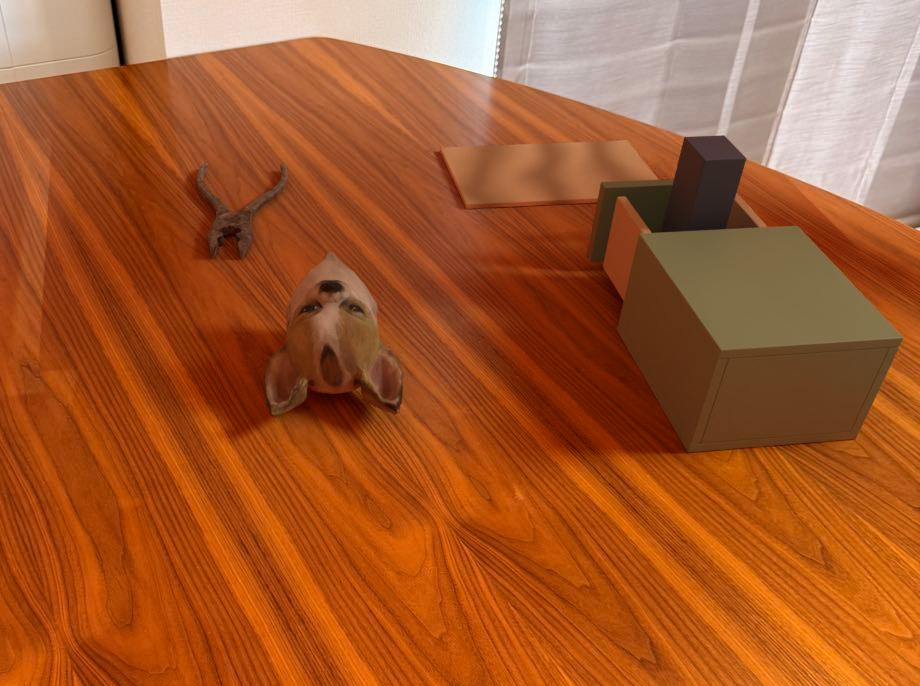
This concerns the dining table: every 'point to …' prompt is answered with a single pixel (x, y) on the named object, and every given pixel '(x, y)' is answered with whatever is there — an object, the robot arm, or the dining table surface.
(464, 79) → the dining table surface
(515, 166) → the mat
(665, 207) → the drawer
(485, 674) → the dining table surface
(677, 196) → the block
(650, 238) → the cabinet
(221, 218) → the pliers
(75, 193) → the dining table surface
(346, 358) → the ceramic sculpture
